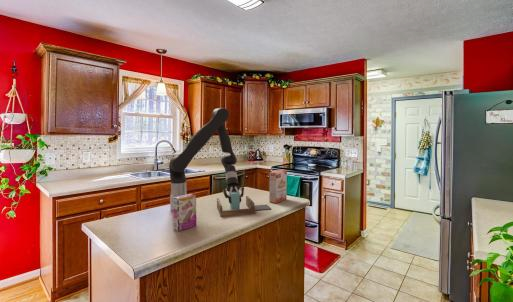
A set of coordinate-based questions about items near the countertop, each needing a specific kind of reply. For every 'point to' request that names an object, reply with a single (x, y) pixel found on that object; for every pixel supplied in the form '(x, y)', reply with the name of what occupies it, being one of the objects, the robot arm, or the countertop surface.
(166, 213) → the countertop surface
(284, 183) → the cracker box
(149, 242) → the countertop surface
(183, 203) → the candy bar box
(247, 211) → the lane
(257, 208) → the pad
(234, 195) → the teal block
